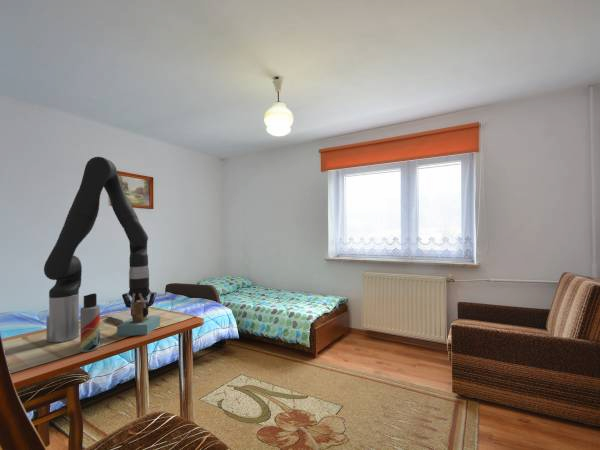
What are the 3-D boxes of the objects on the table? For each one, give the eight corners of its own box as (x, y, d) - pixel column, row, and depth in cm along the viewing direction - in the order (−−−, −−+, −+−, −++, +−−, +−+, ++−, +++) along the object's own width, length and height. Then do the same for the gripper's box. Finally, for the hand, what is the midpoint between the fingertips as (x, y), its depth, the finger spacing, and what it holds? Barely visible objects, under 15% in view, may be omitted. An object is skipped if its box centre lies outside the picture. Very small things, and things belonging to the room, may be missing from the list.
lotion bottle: (89, 352, 101) (89, 295, 101) (76, 351, 102) (76, 295, 102) (103, 346, 107) (103, 292, 107) (91, 345, 108) (90, 291, 108)
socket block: (117, 335, 117) (117, 325, 117) (132, 325, 129) (132, 317, 129) (147, 334, 118) (147, 324, 118) (160, 324, 130) (160, 316, 130)
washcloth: (129, 314, 150) (129, 308, 150) (149, 319, 140) (148, 313, 141) (104, 320, 140) (104, 314, 140) (123, 326, 130) (123, 319, 130)
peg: (132, 327, 121) (132, 303, 122) (137, 324, 125) (137, 301, 126) (142, 326, 122) (141, 303, 122) (146, 323, 126) (146, 300, 126)
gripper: (117, 278, 120) (117, 320, 120) (151, 277, 120) (152, 318, 120) (127, 275, 127) (127, 314, 127) (159, 274, 128) (160, 313, 128)
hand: (139, 316), depth 124 cm, fingers closed on peg, 4 cm apart
